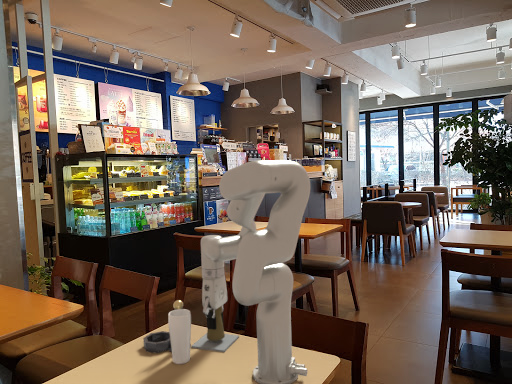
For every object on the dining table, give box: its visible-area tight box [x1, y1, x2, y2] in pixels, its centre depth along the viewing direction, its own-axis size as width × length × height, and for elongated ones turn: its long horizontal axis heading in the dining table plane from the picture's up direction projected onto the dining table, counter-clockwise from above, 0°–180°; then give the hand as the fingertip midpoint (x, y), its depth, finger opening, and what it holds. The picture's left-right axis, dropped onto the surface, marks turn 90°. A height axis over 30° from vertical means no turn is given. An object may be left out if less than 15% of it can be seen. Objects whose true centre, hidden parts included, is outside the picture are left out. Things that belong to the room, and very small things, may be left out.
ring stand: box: [143, 299, 192, 354], centre depth 130 cm, size 15×10×16 cm, turn 69°
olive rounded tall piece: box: [206, 306, 226, 340], centre depth 132 cm, size 6×6×11 cm
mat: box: [190, 332, 240, 353], centre depth 133 cm, size 12×12×1 cm
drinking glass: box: [167, 308, 192, 365], centre depth 120 cm, size 7×7×15 cm
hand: (215, 325), depth 132 cm, fingers closed on olive rounded tall piece, 4 cm apart
